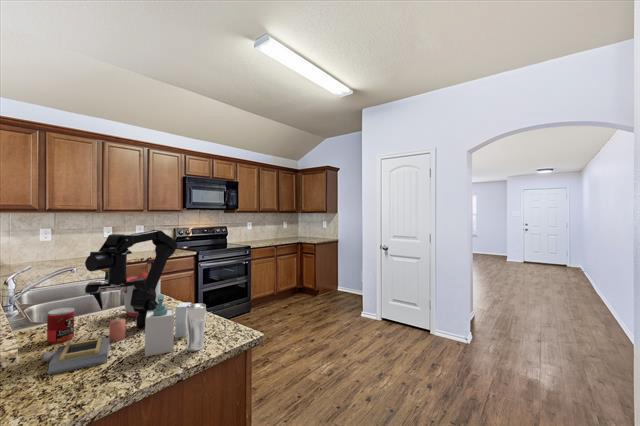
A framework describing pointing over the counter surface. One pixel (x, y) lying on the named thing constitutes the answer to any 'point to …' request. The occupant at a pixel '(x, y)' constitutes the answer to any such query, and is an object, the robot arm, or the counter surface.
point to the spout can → (117, 329)
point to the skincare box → (180, 320)
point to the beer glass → (195, 326)
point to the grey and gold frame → (78, 355)
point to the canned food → (60, 325)
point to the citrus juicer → (128, 294)
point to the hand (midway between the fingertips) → (116, 307)
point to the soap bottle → (159, 329)
